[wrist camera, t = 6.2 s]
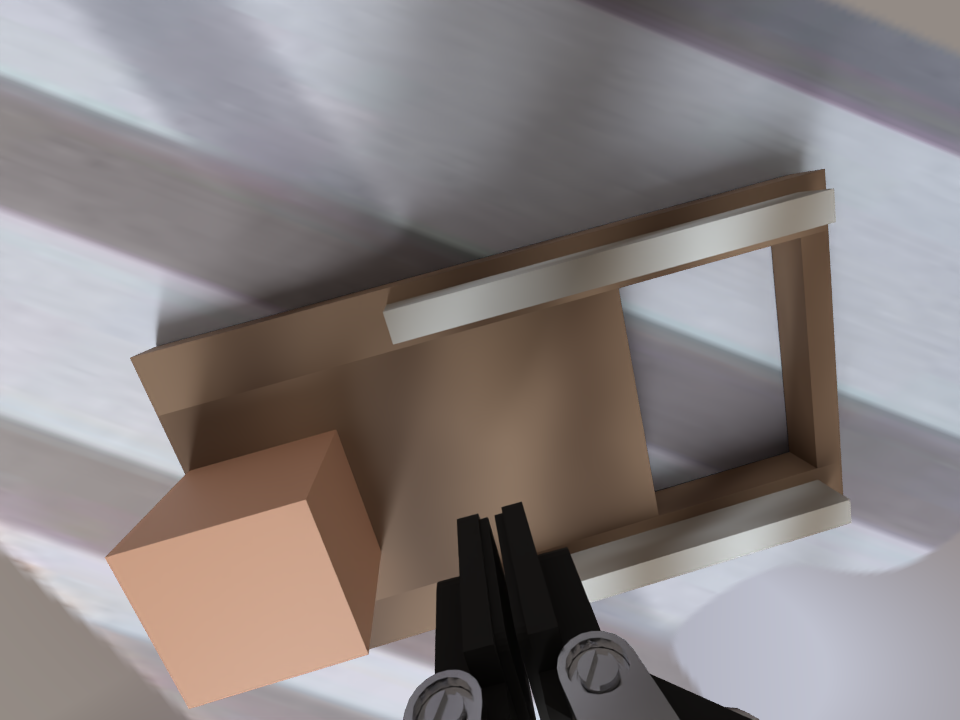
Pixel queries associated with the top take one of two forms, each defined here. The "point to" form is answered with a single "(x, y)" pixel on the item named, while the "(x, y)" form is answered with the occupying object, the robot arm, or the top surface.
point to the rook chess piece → (743, 713)
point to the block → (254, 570)
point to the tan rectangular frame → (528, 401)
